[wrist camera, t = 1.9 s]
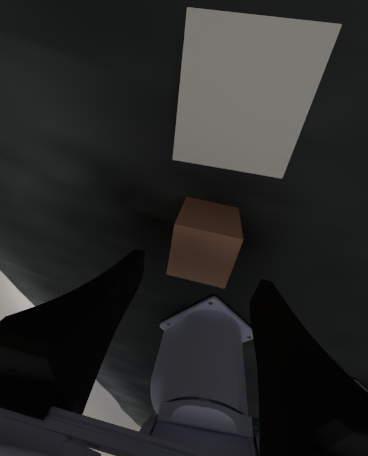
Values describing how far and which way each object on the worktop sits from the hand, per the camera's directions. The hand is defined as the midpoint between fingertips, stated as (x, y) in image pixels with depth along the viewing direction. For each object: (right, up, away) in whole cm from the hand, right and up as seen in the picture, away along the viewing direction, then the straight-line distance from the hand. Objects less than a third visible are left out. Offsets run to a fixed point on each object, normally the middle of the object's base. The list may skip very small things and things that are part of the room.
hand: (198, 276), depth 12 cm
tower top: (+2, +10, -1) cm, 10 cm away
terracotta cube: (+1, +3, +6) cm, 7 cm away
